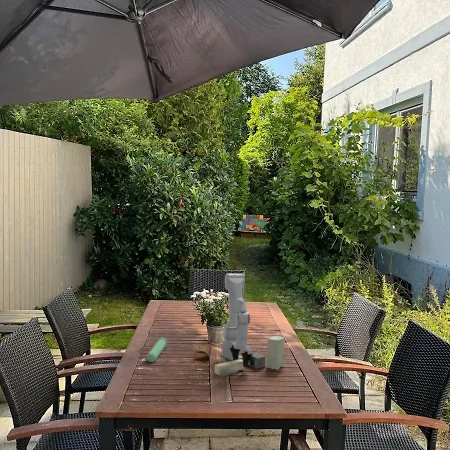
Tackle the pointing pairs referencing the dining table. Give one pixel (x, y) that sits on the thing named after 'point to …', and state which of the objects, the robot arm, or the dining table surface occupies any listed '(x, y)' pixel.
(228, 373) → the sleeve
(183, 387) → the dining table surface
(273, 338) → the skincare box
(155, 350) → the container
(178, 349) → the dining table surface
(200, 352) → the sunglasses case
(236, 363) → the inner rod
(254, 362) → the socket
